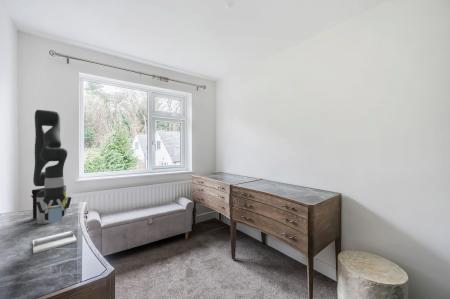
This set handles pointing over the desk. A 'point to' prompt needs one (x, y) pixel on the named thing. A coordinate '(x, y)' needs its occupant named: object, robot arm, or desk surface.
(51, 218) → the block
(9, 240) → the desk surface
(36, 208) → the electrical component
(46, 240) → the rail plate
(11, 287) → the desk surface
